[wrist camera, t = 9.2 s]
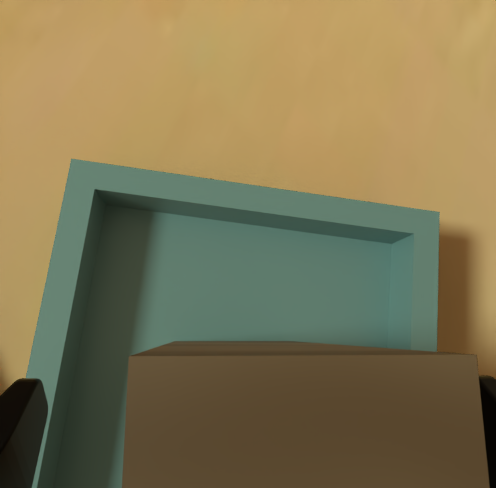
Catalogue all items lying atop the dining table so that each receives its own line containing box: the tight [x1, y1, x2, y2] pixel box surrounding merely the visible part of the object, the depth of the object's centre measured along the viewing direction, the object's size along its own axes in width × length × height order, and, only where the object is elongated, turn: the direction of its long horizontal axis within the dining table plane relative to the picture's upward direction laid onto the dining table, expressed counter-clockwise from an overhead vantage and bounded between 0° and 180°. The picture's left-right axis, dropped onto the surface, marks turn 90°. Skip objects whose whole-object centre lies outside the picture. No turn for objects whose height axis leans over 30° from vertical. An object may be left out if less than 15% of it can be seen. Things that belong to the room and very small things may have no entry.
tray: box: [26, 159, 439, 488], centre depth 16 cm, size 16×14×3 cm
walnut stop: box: [122, 341, 490, 488], centre depth 11 cm, size 4×4×12 cm
